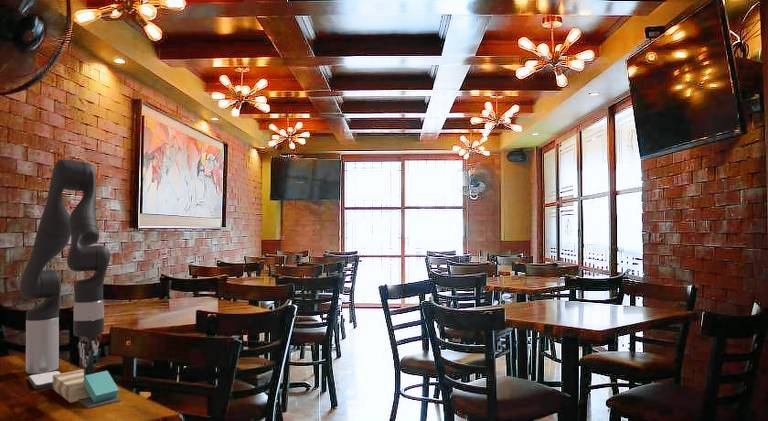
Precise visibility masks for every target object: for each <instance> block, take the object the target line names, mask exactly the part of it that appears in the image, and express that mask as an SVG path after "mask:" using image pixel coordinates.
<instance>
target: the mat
mask: <svg viewBox="0 0 768 421" xmlns="http://www.w3.org/2000/svg"><path fill="white" fill-rule="evenodd" d="M119 400H121V401H122V399H121V398H120V397H119V396H117V397H114V398H110V399H106V400H103V401H99V402H95V403H94V402H93V400H92V398H91V397H87V398H82V399H78V401H77V402H79V403H80V404H82V406H84V407H86V408H87V409H92V408H97V407H101V406H106V405H111V404H114V403H113V402H115V403H117V402H116V401H119ZM119 402H120V401H119ZM110 403H111V404H110Z"/></svg>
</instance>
